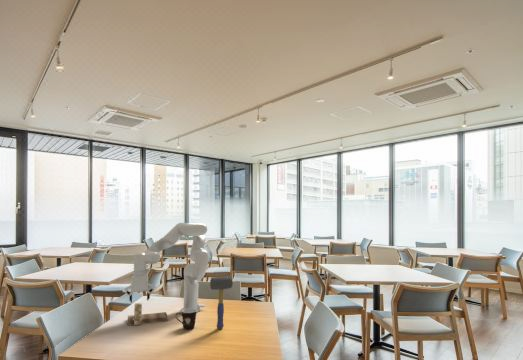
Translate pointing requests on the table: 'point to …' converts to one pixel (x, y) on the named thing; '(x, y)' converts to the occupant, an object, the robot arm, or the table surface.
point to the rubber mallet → (220, 294)
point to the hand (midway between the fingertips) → (139, 300)
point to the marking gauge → (138, 314)
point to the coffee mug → (188, 318)
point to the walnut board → (149, 318)
